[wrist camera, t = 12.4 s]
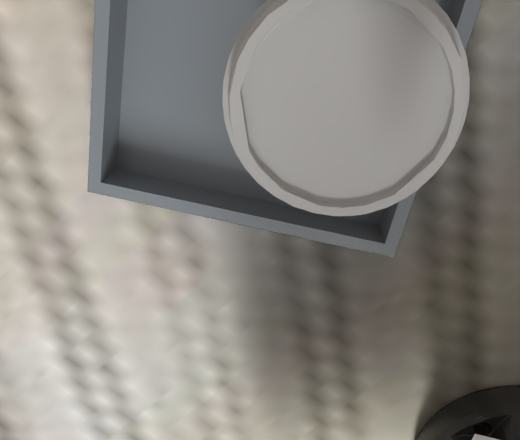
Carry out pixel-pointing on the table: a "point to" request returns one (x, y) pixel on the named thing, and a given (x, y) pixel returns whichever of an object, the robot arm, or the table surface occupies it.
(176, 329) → the table surface
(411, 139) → the disposable coffee cup
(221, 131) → the tray
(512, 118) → the table surface
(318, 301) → the table surface
